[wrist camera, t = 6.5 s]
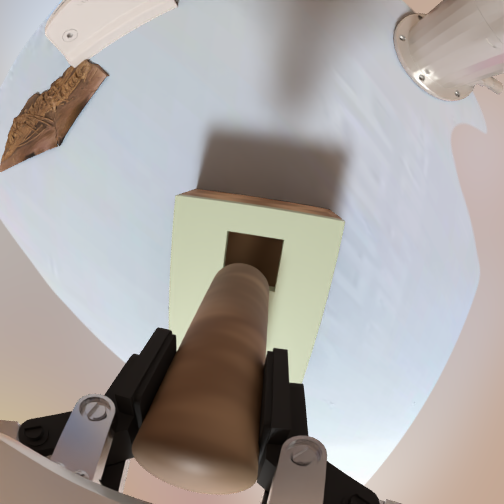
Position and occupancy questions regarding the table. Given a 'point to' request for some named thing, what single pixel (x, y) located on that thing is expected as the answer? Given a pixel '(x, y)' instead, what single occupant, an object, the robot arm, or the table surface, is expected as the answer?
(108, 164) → the table surface
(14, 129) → the wooden fragment
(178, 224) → the lid
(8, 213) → the table surface
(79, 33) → the white curved device casing
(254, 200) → the box with square hole
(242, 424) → the pin
